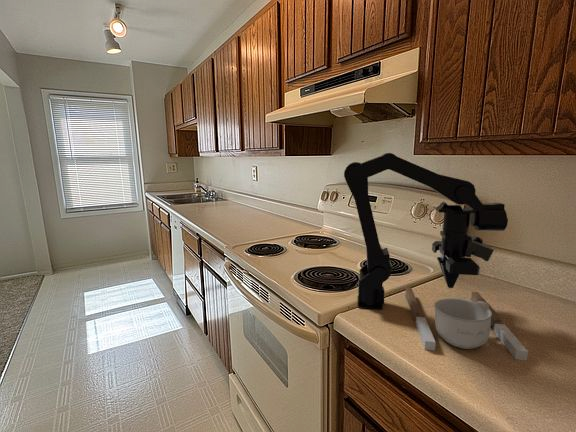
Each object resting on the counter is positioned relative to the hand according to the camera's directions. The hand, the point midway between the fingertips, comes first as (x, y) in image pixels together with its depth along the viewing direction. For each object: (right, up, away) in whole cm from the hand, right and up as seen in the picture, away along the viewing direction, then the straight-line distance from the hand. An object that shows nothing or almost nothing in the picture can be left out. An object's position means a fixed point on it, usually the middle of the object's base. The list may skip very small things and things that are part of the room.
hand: (450, 287), depth 80 cm
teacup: (-3, -9, -11) cm, 15 cm away
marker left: (-11, -9, -10) cm, 18 cm away
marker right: (+5, -9, -14) cm, 17 cm away
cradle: (0, -6, 0) cm, 6 cm away
